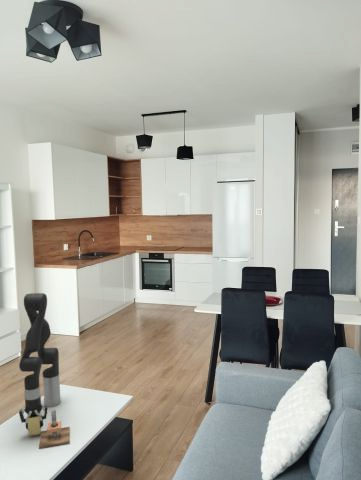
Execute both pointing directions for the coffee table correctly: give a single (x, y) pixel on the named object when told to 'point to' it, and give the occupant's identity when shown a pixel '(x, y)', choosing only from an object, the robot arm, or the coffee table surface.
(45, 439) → the post stand
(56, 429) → the orange square ring
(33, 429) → the sleeve
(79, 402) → the coffee table surface
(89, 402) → the coffee table surface
